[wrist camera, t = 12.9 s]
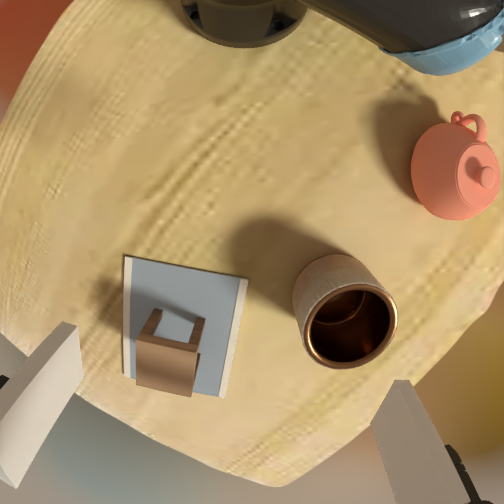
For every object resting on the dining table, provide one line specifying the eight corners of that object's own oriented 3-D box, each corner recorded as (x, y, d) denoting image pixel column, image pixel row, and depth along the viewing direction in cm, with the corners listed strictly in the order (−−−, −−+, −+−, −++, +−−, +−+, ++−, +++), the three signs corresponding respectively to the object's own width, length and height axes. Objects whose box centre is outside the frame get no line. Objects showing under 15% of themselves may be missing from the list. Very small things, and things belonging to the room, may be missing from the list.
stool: (154, 308, 41) (135, 339, 33) (205, 318, 41) (196, 352, 34) (152, 350, 43) (136, 384, 35) (199, 360, 43) (191, 397, 36)
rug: (126, 255, 39) (125, 256, 39) (248, 278, 40) (248, 280, 40) (125, 374, 45) (124, 376, 45) (225, 396, 46) (224, 398, 45)
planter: (283, 324, 42) (291, 367, 33) (300, 246, 39) (314, 275, 30) (358, 331, 43) (380, 372, 33) (380, 258, 39) (412, 287, 30)
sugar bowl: (395, 207, 37) (436, 225, 28) (408, 101, 33) (452, 89, 24) (466, 221, 38) (512, 240, 28) (479, 125, 34) (526, 125, 24)
